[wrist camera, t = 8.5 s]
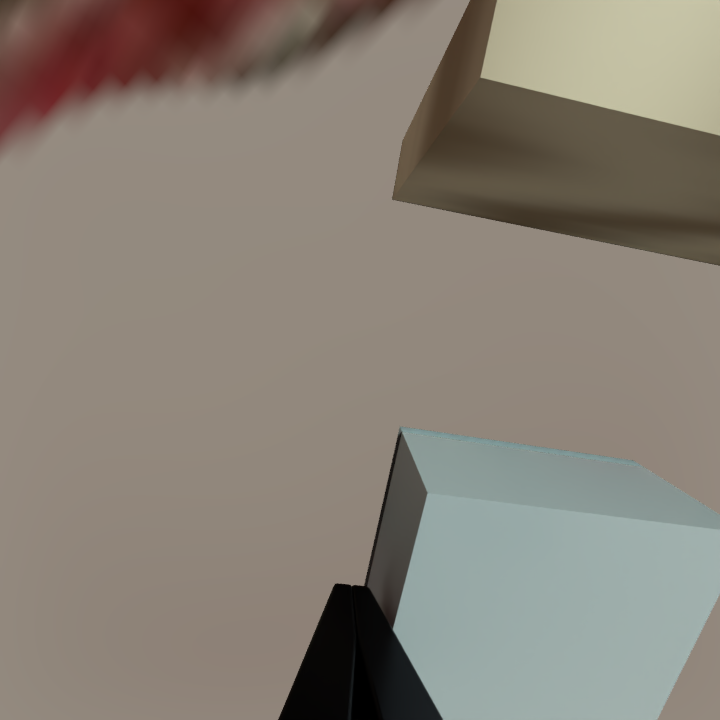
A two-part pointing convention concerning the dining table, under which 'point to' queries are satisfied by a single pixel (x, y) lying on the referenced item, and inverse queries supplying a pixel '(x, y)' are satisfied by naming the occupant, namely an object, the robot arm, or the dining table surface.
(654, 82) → the box
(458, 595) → the tile
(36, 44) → the dining table surface
